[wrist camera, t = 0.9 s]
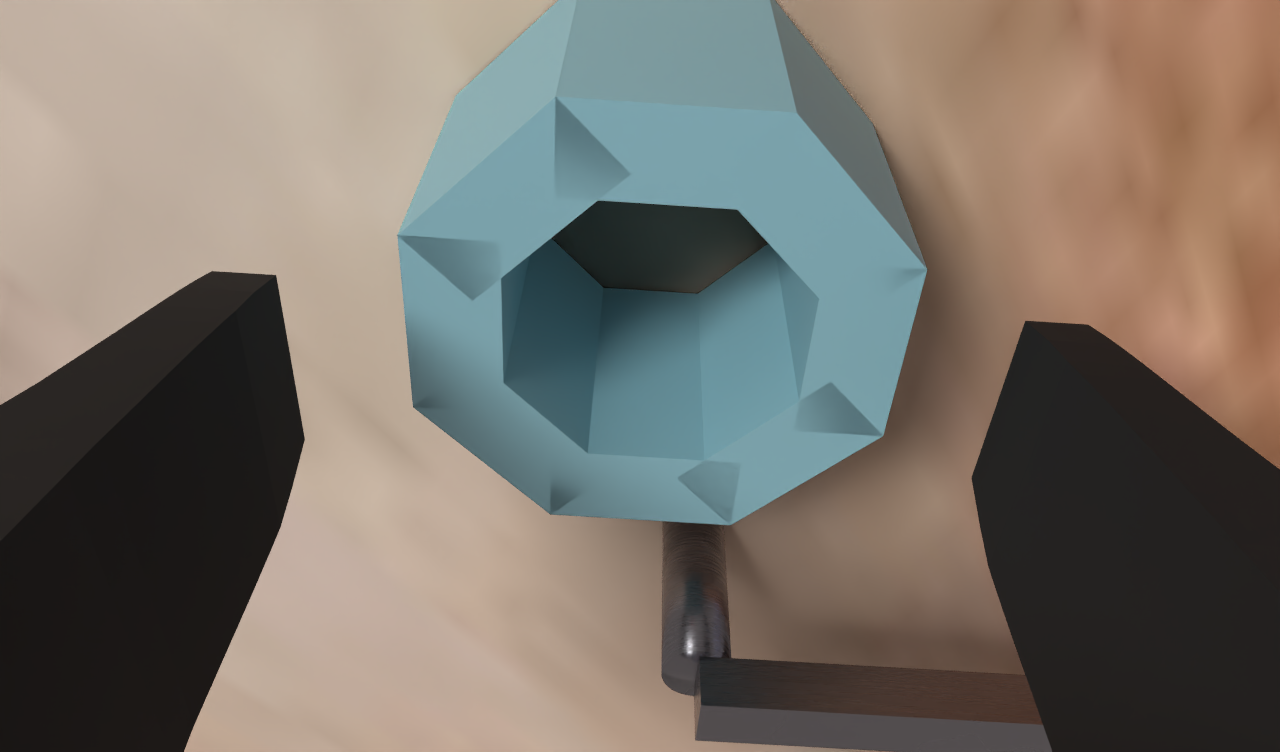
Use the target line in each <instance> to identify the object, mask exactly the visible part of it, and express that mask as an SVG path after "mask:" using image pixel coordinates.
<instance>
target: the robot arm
mask: <svg viewBox="0 0 1280 752" xmlns="http://www.w3.org/2000/svg"><path fill="white" fill-rule="evenodd" d="M304 440H305V438H304V432H303V427H302V421H301V415H300V410H299V404H298V398H297V392H296V387H295V381H294V375H293V369H292V364H291V358H290V352H289V347H288V341H287V335H286V329H285V324H284V318H283V312H282V307H281V301H280V295H279V289H278V284H277V278H276V275H264V274H248V273H232V272H215V271H212V272H210V273H208V274H206V275H204V276H202V277H201V278H199V279H197V280H195V281H194V282H192V283H190V284H189V285H187V286H185V287H184V288H182V289H181V290H179V291H177V292H176V293H174V294H173V295H171V296H170V297H168V298H167V299H165V300H163V301H162V302H160V303H159V304H157V305H156V306H154V307H153V308H151V309H150V310H148V311H147V312H145V313H144V314H142V315H141V316H139V317H138V318H136V319H135V320H133V321H132V322H130V323H129V324H127V325H126V326H124V327H123V328H121V329H120V330H118V331H117V332H115V333H114V334H112V335H111V336H109V337H108V338H106V339H104V340H103V341H101V342H100V343H98V344H97V345H95V346H94V347H92V348H91V349H89V350H88V351H86V352H85V353H83V354H81V355H80V356H78V357H77V358H75V359H74V360H72V361H71V362H69V363H68V364H66V365H65V366H63V367H62V368H60V369H58V370H57V371H55V372H54V373H52V374H51V375H49V376H48V377H46V378H45V379H43V380H41V381H40V382H38V383H37V384H35V385H33V386H32V387H30V388H28V389H27V390H25V391H23V392H22V393H20V394H18V395H17V396H15V397H13V398H12V399H10V400H8V401H7V402H5V403H3V404H2V405H0V752H184V750H185V747H186V745H187V742H188V739H189V737H190V734H191V732H192V729H193V727H194V724H195V722H196V720H197V717H198V715H199V713H200V711H201V708H202V706H203V704H204V701H205V699H206V697H207V695H208V692H209V690H210V688H211V686H212V683H213V681H214V679H215V677H216V674H217V672H218V670H219V667H220V665H221V663H222V661H223V658H224V656H225V654H226V652H227V649H228V647H229V645H230V643H231V640H232V638H233V636H234V633H235V631H236V629H237V627H238V624H239V622H240V620H241V618H242V615H243V613H244V611H245V609H246V606H247V604H248V602H249V600H250V597H251V595H252V593H253V590H254V588H255V586H256V583H257V581H258V579H259V576H260V574H261V572H262V569H263V567H264V565H265V562H266V560H267V558H268V556H269V553H270V551H271V549H272V546H273V544H274V541H275V539H276V537H277V534H278V532H279V529H280V527H281V523H282V520H283V517H284V513H285V510H286V506H287V503H288V500H289V496H290V493H291V489H292V486H293V482H294V478H295V474H296V471H297V467H298V463H299V459H300V455H301V452H302V448H303V444H304ZM972 482H973V488H974V494H975V500H976V505H977V511H978V517H979V523H980V528H981V533H982V538H983V542H984V547H985V552H986V557H987V562H988V566H989V569H990V573H991V576H992V579H993V582H994V585H995V588H996V591H997V594H998V597H999V600H1000V603H1001V606H1002V609H1003V611H1004V614H1005V617H1006V620H1007V623H1008V626H1009V629H1010V632H1011V635H1012V638H1013V641H1014V644H1015V647H1016V649H1017V652H1018V655H1019V658H1020V661H1021V664H1022V666H1023V669H1024V672H1025V675H1026V678H1027V681H1028V684H1029V686H1030V689H1031V692H1032V695H1033V698H1034V701H1035V704H1036V706H1037V709H1038V712H1039V715H1040V718H1041V721H1042V723H1043V726H1044V729H1045V732H1046V735H1047V738H1048V741H1049V743H1050V746H1051V749H1052V752H1280V469H1278V468H1277V467H1276V466H1274V465H1273V464H1272V463H1270V462H1269V461H1268V460H1266V459H1265V458H1264V457H1262V456H1261V455H1260V454H1258V453H1257V452H1256V451H1254V450H1253V449H1252V448H1250V447H1249V446H1248V445H1247V444H1245V443H1244V442H1243V441H1241V440H1240V439H1239V438H1237V437H1236V436H1235V435H1233V434H1232V433H1231V432H1230V431H1228V430H1227V429H1226V428H1224V427H1223V426H1222V425H1221V424H1219V423H1218V422H1217V421H1215V420H1214V419H1213V418H1212V417H1210V416H1209V415H1208V414H1206V413H1205V412H1204V411H1203V410H1201V409H1200V408H1199V407H1198V406H1196V405H1195V404H1194V403H1192V402H1191V401H1190V400H1189V399H1187V398H1186V397H1185V396H1184V395H1182V394H1181V393H1180V392H1178V391H1177V390H1176V389H1175V388H1173V387H1172V386H1171V385H1170V384H1168V383H1167V382H1166V381H1164V380H1163V379H1162V378H1161V377H1159V376H1158V375H1157V374H1155V373H1154V372H1153V371H1152V370H1150V369H1149V368H1148V367H1146V366H1145V365H1144V364H1143V363H1141V362H1140V361H1139V360H1137V359H1136V358H1135V357H1133V356H1132V355H1131V354H1129V353H1128V352H1127V351H1125V350H1124V349H1123V348H1121V347H1120V346H1119V345H1117V344H1116V343H1115V342H1113V341H1112V340H1110V339H1109V338H1107V337H1106V336H1105V335H1103V334H1102V333H1100V332H1098V331H1097V330H1095V329H1094V328H1092V327H1091V326H1089V325H1084V324H1068V323H1051V322H1035V321H1025V324H1024V327H1023V329H1022V332H1021V335H1020V338H1019V341H1018V344H1017V347H1016V350H1015V353H1014V356H1013V359H1012V362H1011V364H1010V367H1009V370H1008V373H1007V376H1006V379H1005V382H1004V385H1003V388H1002V391H1001V394H1000V396H999V399H998V402H997V405H996V408H995V411H994V414H993V417H992V420H991V423H990V426H989V429H988V431H987V434H986V437H985V440H984V443H983V446H982V449H981V452H980V455H979V458H978V461H977V464H976V466H975V469H974V472H973V475H972Z"/></svg>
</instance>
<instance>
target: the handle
mask: <svg viewBox="0 0 1280 752" xmlns="http://www.w3.org/2000/svg"><path fill="white" fill-rule="evenodd" d="M662 679H663V681H664V682H665V684H666V685H667V686H668V687H669V688H671V689H672V690H674V691H676V692H678V693H681V694H685V695H691V696H694V705H695V740H698V741H716V742H734V743H751V744H769V745H787V746H805V747H823V748H841V749H858V750H876V751H894V752H1052V749H1051V746H1050V743H1049V741H1048V738H1047V735H1046V732H1045V729H1044V726H1043V723H1042V721H1041V718H1040V715H1039V712H1038V709H1037V706H1036V704H1035V701H1034V698H1033V695H1032V692H1031V689H1030V686H1029V684H1028V681H1027V678H1026V675H1013V674H995V673H978V672H961V671H943V670H926V669H909V668H891V667H874V666H857V665H839V664H822V663H805V662H787V661H770V660H752V659H735V658H731V646H730V628H729V610H728V593H727V575H726V558H725V540H724V525H719V524H702V523H686V522H669V521H663V565H662Z"/></svg>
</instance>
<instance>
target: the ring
mask: <svg viewBox="0 0 1280 752" xmlns="http://www.w3.org/2000/svg"><path fill="white" fill-rule="evenodd" d="M598 200H600V201H615V202H630V203H646V204H661V205H676V206H691V207H706V208H722V209H737V210H738V211H739V212H740V213H741V214H742V215H743V216H744V217H745V218H746V219H747V221H748V222H749V223H750V224H751V225H752V226H753V227H754V228H755V229H756V230H757V231H758V233H759V234H760V235H761V236H762V237H763V238H764V239H765V240H766V241H767V242H768V244H767V245H765V246H764V247H763V248H761V249H760V250H758V251H757V252H756V253H754V254H753V255H751V256H750V257H749V258H747V259H746V260H744V261H743V262H742V263H740V264H739V265H737V266H736V267H735V268H733V269H732V270H730V271H729V272H728V273H726V274H725V275H723V276H722V277H721V278H719V279H718V280H716V281H715V282H714V283H712V284H711V285H709V286H708V287H707V288H705V289H704V290H702V291H701V292H700V293H698V294H694V293H678V292H663V291H647V290H632V289H616V288H603V287H602V286H601V285H600V284H599V283H598V282H597V281H596V280H595V279H594V278H593V277H592V276H591V275H589V274H588V273H587V272H586V271H585V270H584V269H583V268H582V267H581V266H580V265H579V264H578V263H577V262H576V261H575V260H574V259H573V258H572V257H570V256H569V255H568V254H567V253H566V252H565V251H564V250H563V249H562V248H561V247H560V246H559V245H558V244H557V243H556V242H555V241H554V240H553V239H552V237H553V236H554V235H555V234H557V233H558V232H559V231H560V230H562V229H563V228H564V227H565V226H567V225H568V224H569V223H570V222H572V221H573V220H574V219H575V218H577V217H578V216H579V215H580V214H582V213H583V212H584V211H585V210H587V209H588V208H589V207H590V206H592V205H593V204H594V203H595V202H597V201H598ZM397 236H398V246H399V257H400V268H401V279H402V290H403V301H404V312H405V323H406V334H407V345H408V356H409V367H410V378H411V389H412V401H413V407H414V408H415V409H416V410H417V411H419V412H420V413H421V414H423V415H424V416H425V417H426V418H428V419H429V420H430V421H432V422H433V423H434V424H435V425H437V426H438V427H439V428H440V429H442V430H443V431H444V432H446V433H447V434H448V435H449V436H451V437H452V438H453V439H455V440H456V441H457V442H458V443H460V444H461V445H462V446H464V447H465V448H466V449H467V450H469V451H470V452H471V453H472V454H474V455H475V456H476V457H478V458H479V459H480V460H481V461H483V462H484V463H485V464H487V465H488V466H489V467H490V468H492V469H493V470H494V471H495V472H497V473H498V474H499V475H501V476H502V477H503V478H504V479H506V480H507V481H508V482H510V483H511V484H512V485H513V486H515V487H516V488H517V489H518V490H520V491H521V492H522V493H524V494H525V495H526V496H527V497H529V498H530V499H531V500H533V501H534V502H535V503H536V504H538V505H539V506H540V507H542V508H543V509H544V510H545V511H547V512H548V513H549V514H550V515H551V514H552V515H569V516H586V517H602V518H619V519H636V520H652V521H669V522H686V523H702V524H719V525H732V524H734V523H735V522H737V521H739V520H740V519H742V518H744V517H746V516H747V515H749V514H751V513H752V512H754V511H756V510H758V509H759V508H761V507H763V506H764V505H766V504H768V503H769V502H771V501H773V500H775V499H776V498H778V497H780V496H781V495H783V494H785V493H787V492H788V491H790V490H792V489H793V488H795V487H797V486H799V485H800V484H802V483H804V482H805V481H807V480H809V479H811V478H812V477H814V476H816V475H817V474H819V473H821V472H823V471H824V470H826V469H828V468H829V467H831V466H833V465H835V464H836V463H838V462H840V461H841V460H843V459H845V458H846V457H848V456H850V455H852V454H853V453H855V452H857V451H858V450H860V449H862V448H864V447H865V446H867V445H869V444H870V443H872V442H874V441H876V440H877V439H879V438H881V437H882V436H883V435H884V431H885V427H886V423H887V420H888V416H889V412H890V408H891V404H892V401H893V397H894V393H895V389H896V386H897V382H898V378H899V374H900V371H901V367H902V363H903V359H904V356H905V352H906V348H907V344H908V340H909V337H910V333H911V329H912V325H913V322H914V318H915V314H916V310H917V307H918V303H919V299H920V295H921V291H922V288H923V284H924V280H925V276H926V273H927V267H926V265H925V262H924V259H923V257H922V254H921V251H920V249H919V246H918V243H917V241H916V238H915V235H914V233H913V230H912V227H911V225H910V222H909V219H908V217H907V214H906V211H905V209H904V206H903V203H902V201H901V198H900V195H899V193H898V190H897V187H896V185H895V182H894V179H893V177H892V174H891V171H890V169H889V166H888V163H887V161H886V158H885V155H884V153H883V150H882V147H881V145H880V142H879V139H878V137H877V134H876V131H875V129H874V126H873V123H872V122H871V121H870V120H869V119H868V117H867V116H866V115H865V113H864V112H863V111H862V110H861V108H860V107H859V106H858V105H857V103H856V102H855V101H854V100H853V98H852V97H851V96H850V95H849V93H848V92H847V91H846V90H845V88H844V87H843V86H842V84H841V83H840V82H839V81H838V79H837V78H836V77H835V76H834V74H833V73H832V72H831V71H830V69H829V68H828V67H827V66H826V64H825V63H824V62H823V60H822V59H821V58H820V57H819V55H818V54H817V53H816V52H815V50H814V49H813V48H812V47H811V45H810V44H809V43H808V42H807V40H806V39H805V38H804V36H803V35H802V34H801V33H800V31H799V30H798V29H797V28H796V26H795V25H794V24H793V23H792V21H791V20H790V19H789V18H788V16H787V15H786V14H785V13H784V11H783V10H782V9H781V7H780V6H779V5H778V4H777V2H776V1H775V0H558V1H557V2H556V3H555V4H554V5H553V6H552V7H551V8H550V9H548V10H547V11H546V12H545V13H544V14H543V15H542V16H541V17H540V18H539V19H538V20H537V21H536V22H534V23H533V24H532V25H531V26H530V27H529V28H528V29H527V30H526V31H525V32H524V33H523V34H522V35H520V36H519V37H518V38H517V39H516V40H515V41H514V42H513V43H512V44H511V45H510V46H509V47H508V48H507V49H505V50H504V51H503V52H502V53H501V54H500V55H499V56H498V57H497V58H496V59H495V60H494V61H493V62H491V63H490V64H489V65H488V66H487V67H486V68H485V69H484V70H483V71H482V72H481V73H480V74H479V75H477V76H476V77H475V78H474V79H473V80H472V81H471V82H470V83H469V84H468V85H467V86H466V87H465V88H464V89H462V90H461V91H460V92H459V93H458V94H457V95H456V97H455V99H454V101H453V104H452V106H451V109H450V111H449V113H448V116H447V118H446V121H445V123H444V125H443V128H442V130H441V133H440V135H439V137H438V140H437V142H436V144H435V147H434V149H433V152H432V154H431V156H430V159H429V161H428V164H427V166H426V168H425V171H424V173H423V176H422V178H421V180H420V183H419V185H418V187H417V190H416V192H415V195H414V197H413V199H412V202H411V204H410V207H409V209H408V211H407V214H406V216H405V219H404V221H403V223H402V226H401V228H400V230H399V233H398V235H397Z"/></svg>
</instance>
